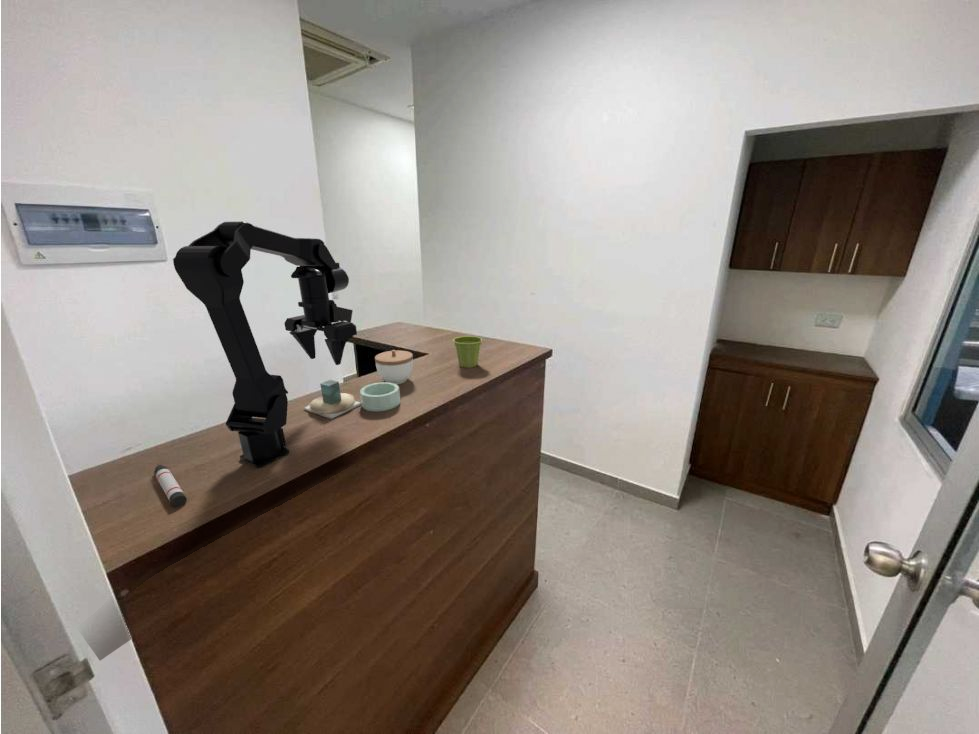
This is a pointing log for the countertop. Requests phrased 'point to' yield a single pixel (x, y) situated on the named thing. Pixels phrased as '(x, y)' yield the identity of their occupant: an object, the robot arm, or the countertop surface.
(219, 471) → the countertop surface
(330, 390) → the lid
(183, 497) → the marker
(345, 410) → the mat
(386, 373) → the lidded jar
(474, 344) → the plant pot
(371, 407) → the bowl
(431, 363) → the countertop surface
